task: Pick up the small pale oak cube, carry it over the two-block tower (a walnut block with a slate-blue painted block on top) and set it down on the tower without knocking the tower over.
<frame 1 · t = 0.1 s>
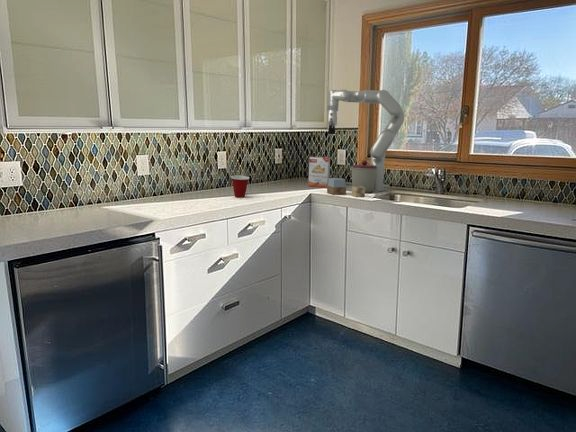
hand: (331, 134, 304), 37 cm above the worktop, tool pointing down, fingers open, 9 cm apart
tower top: (336, 186, 280), point 5 cm above the worktop, touching tower base
oak cube: (357, 196, 273), on the worktop
tower base: (336, 194, 281), on the worktop, touching tower top
plastic cup: (240, 197, 256), on the worktop
cracker box: (318, 186, 314), on the worktop
canister: (362, 192, 293), on the worktop
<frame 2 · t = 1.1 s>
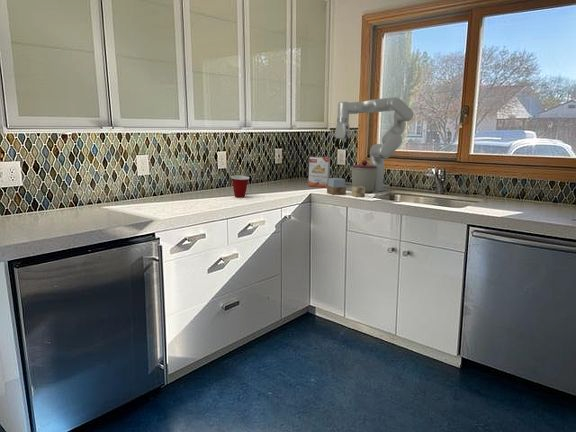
hand: (341, 147, 291), 29 cm above the worktop, tool pointing down, fingers open, 9 cm apart
nothing on the worktop moved.
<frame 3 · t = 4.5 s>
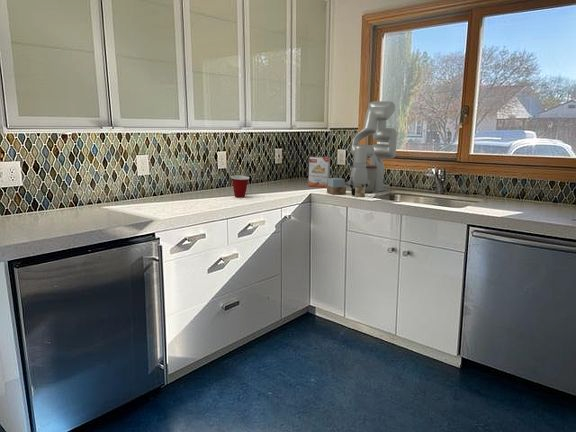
hand: (358, 194, 273), 1 cm above the worktop, tool pointing down, fingers closed on oak cube, 6 cm apart
oak cube: (357, 196, 273), on the worktop, touching gripper
everything else where it was.
when the fingers open (12 cm above the worktop, at t = 9.6 s): oak cube drops 1 cm, resting on tower top.
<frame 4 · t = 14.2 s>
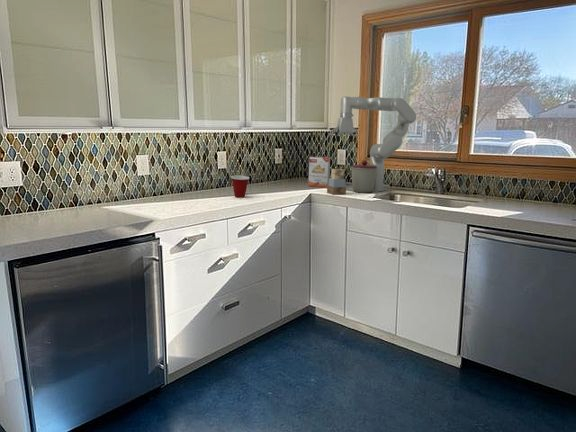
hand: (344, 142, 293), 32 cm above the worktop, tool pointing down, fingers open, 9 cm apart
tower top: (336, 186, 281), point 5 cm above the worktop, touching oak cube, tower base
oak cube: (337, 178, 279), point 10 cm above the worktop, touching tower top
everything else where it was.
at the end: oak cube inside the target area on the tower top (0.8 cm from its centre), point 5.0 cm above the tower top's base; oak cube tilted 0°; tower top tilted 0° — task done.
